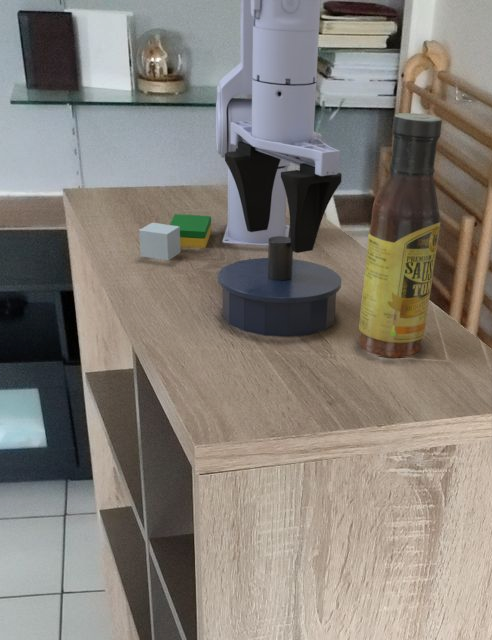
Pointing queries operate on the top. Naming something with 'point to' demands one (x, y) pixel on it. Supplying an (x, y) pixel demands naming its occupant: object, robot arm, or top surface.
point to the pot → (278, 315)
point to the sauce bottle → (402, 242)
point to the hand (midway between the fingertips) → (279, 240)
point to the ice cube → (159, 241)
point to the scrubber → (193, 229)
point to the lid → (279, 277)
